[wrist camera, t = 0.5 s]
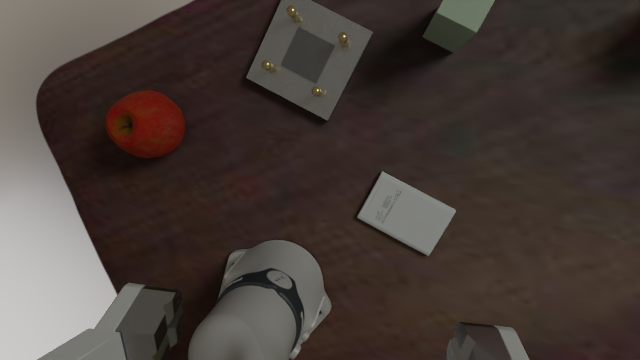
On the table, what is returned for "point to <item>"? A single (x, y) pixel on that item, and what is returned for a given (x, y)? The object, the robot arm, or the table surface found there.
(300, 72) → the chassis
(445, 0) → the block
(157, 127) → the apple
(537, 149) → the table surface
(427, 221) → the external hard drive
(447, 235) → the table surface
